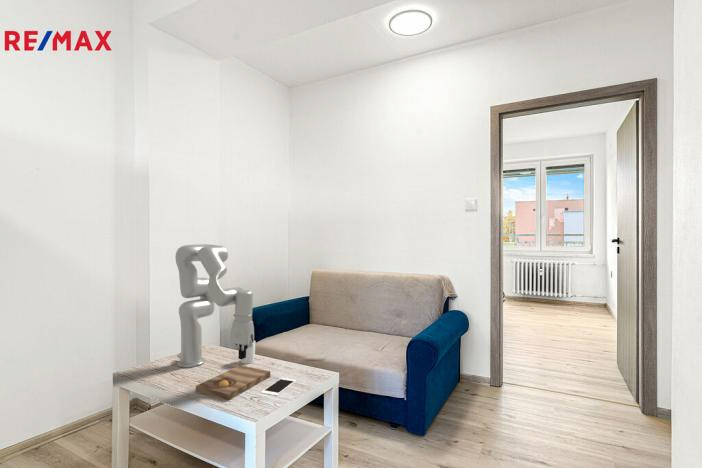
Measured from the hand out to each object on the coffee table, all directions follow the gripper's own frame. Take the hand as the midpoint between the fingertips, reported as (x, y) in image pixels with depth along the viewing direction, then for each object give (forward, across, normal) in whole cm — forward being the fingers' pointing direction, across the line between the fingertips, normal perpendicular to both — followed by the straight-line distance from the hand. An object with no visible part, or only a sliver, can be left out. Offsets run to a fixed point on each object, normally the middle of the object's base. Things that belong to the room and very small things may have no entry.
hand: (242, 358), depth 162 cm
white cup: (+10, -12, +18) cm, 24 cm away
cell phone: (+9, +21, 0) cm, 22 cm away
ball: (+7, +2, -12) cm, 14 cm away
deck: (+9, +2, -6) cm, 11 cm away
